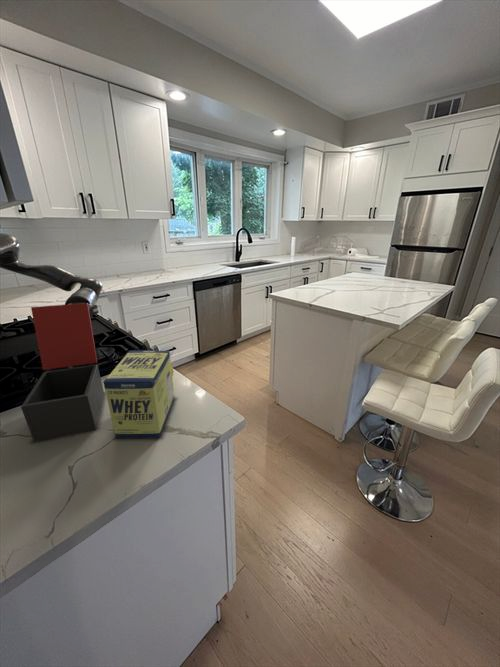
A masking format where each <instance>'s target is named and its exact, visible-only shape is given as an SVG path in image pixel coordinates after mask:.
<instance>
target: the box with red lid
mask: <svg viewBox="0 0 500 667" xmlns="http://www.w3.org/2000/svg"><path fill="white" fill-rule="evenodd" d="M104 391H105V390H104V385H103V381H102V378H101V373H100V369H99V365H98V363H95V364H88V365H80V366H73V367H66V368H59V369H51V370H44V371H43V372H42V374H41V376H40V377H39V378H38V380H37V381H36V383H35V384H34V386H33V388H32V389H31V391H30V392H29V393H28V395H27V396H26V399H25V400H24V402H23V403H22V404H21V406H20V408H21V411H22V414H23V417H24V419H25V422H26V425H27V427H28V430H29V432H30V435H31V437H32V441H33V442H34V443H37V442H41V441H46V440H51V439H57V438H61V437H66V436H70V435H75V434H81V433H86V432H90V431H91V432H92V431H96V430H97V427H98V423H99V420H100V414H101V409H102V406H103V402H104V397H105V392H104Z"/></svg>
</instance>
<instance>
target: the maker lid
mask: <svg viewBox="0 0 500 667" xmlns="http://www.w3.org/2000/svg"><path fill="white" fill-rule="evenodd" d="M30 308H31V315H32V319H33V325H34V330H35V335H36V341H37V346H38V351H39V357H40V362H41V366H42V371H50V370H57V369H64V368H72V367H79V366H87V365H94V364H98V358H97V351H96V345H95V339H94V333H93V332H94V331H93V326H92V320H91V316H90V313H89V307H88V303H82V304H69V305H65V304H57V305H55V304H54V305H44V306H43V305H42V306H31V307H30Z"/></svg>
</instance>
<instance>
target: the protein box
mask: <svg viewBox="0 0 500 667" xmlns="http://www.w3.org/2000/svg"><path fill="white" fill-rule="evenodd" d="M171 365H172V362H171V352H170V350H129V351H128V352H127V353H126V354H125V355H124V357H123V358H121V360H120V362H119V363H118V364H117V365H116V366H115V368H114V369H113V370H112V371H111V372H110V374H108V375H107V377H106V378H105V379H104V380H103V381H102V384H103V388H104V391H105V395H106V400H107V404H108V409H109V413H110V418H111V423H112V427H113V432H114V435H115V439H160V438H161V437H162V435H163V431H164V428H165V426H166V424H167V421H168V419H169V416H170V413H171V410H172V408H173V405H174V403H175V400H176V398H175V389H174V381H173V376H172V371H171Z"/></svg>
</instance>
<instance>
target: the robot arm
mask: <svg viewBox="0 0 500 667" xmlns="http://www.w3.org/2000/svg"><path fill="white" fill-rule="evenodd" d="M20 251H21V245H20V242H19V240H18V239H17V238H16V237H14V236H13V235H11V234H8V233H3V232H0V269H2V270H6V271H8V272H13V273H16V274H19V275H22V276H26V277H30V278H32V279H36V280H39V281H41V282H44V283H46V284H48V285H51V286H54V287H55V288H57V289H60V290H62V291H64V292H72V291H73V290H74V289H75V287H76V286H77V285H78V284H80V286H79V288H78V289H77V290H76V291H75V292H73V293H72V294H71V295H70V296H69V297H68V298H67V299H66V300H65V302H64V305H69V304H82V303H88V307H89V313H90V317H91V316H94V315H97V314H99V312H100V311H99V307H98V304H97V302H98V301H99V298H100V295H101V293H102V290H103V284H102V283H101V282H100V281H99V280H98V279H95V278H91V277H85V276H81V275H77V274H74V273H71V272H70V271H67V270H66V269H63V268H61V267H58V266H55V265H51V264H39V265H32V264H31V265H30V264H27V263H24V262H22V261H20V260H19V258H20Z"/></svg>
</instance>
